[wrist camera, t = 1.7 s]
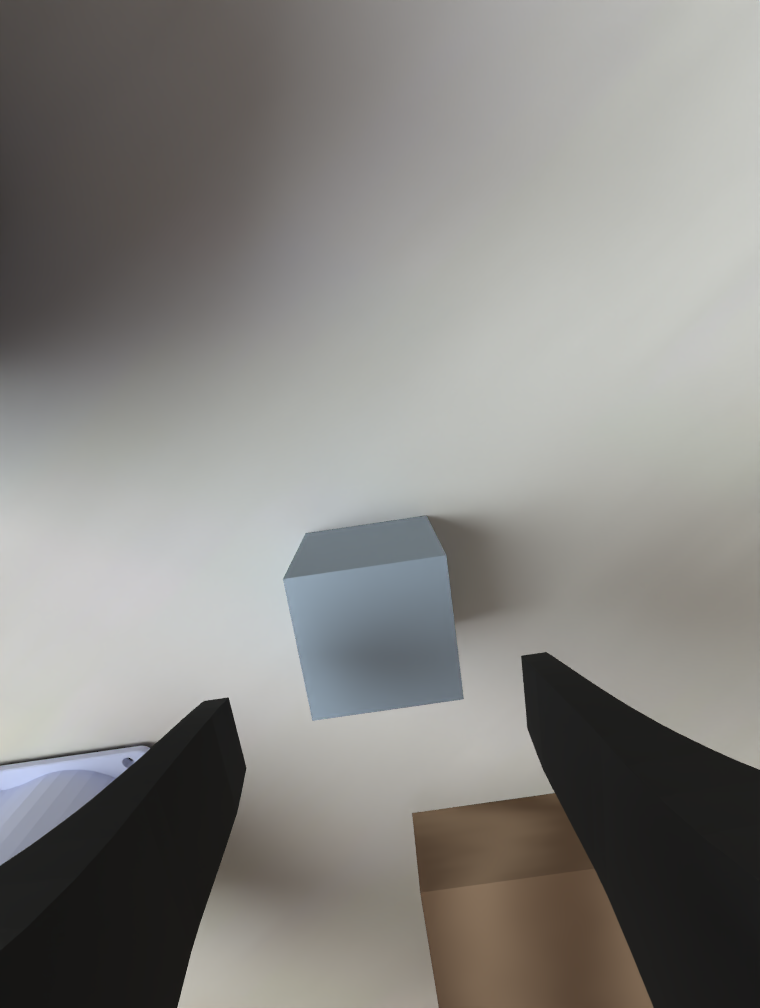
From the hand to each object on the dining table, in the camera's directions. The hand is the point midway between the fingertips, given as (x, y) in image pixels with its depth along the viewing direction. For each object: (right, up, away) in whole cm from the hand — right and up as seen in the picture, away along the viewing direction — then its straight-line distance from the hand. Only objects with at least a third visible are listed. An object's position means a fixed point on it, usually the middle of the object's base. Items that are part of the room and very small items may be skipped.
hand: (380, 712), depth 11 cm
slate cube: (0, +2, +8) cm, 8 cm away
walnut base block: (+8, -15, +12) cm, 21 cm away
